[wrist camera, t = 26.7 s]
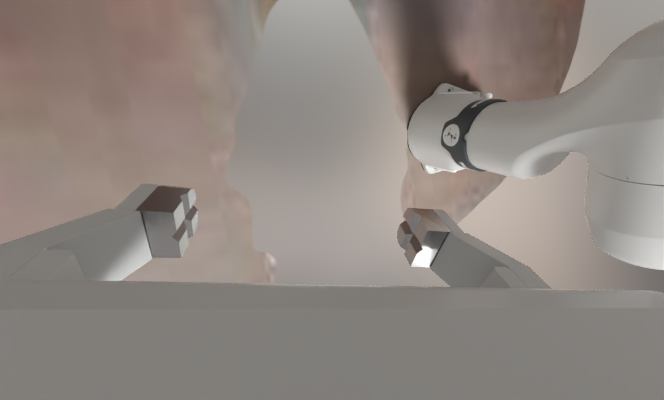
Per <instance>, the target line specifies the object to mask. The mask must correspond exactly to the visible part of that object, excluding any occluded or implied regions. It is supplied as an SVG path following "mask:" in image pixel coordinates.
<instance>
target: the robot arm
mask: <svg viewBox="0 0 664 400" xmlns="http://www.w3.org/2000/svg"><path fill="white" fill-rule="evenodd" d="M491 98H492V94H491V93H480V92H478V91H473V92H469V91H466V90H464V89H461V88H458V87H456V86H453V85H450V84H448V83H442V84H440V85H439V86H438V87H437V89H436V90H435V92H434V93H433V95H432V96H430V97H429V98H428V99H426V100H425V101H424V102H422V103H421V104H420V105H419V107H418V108H417V109H416V110H415V112H414V114H413V116H412V118H411V120H410V123H409V127H408V144H409V148H410V150H411V152H412V154H413V155H414V157H415V158H416V159H418V160H419V161H420V162H421V163H422V166H423V168H424V170H425V172H426V173H430V174H432V173H436V172H439V171H443V170H445V171H449V172H456V171H458V170H462V169H465V168H466V169H469V170H473V171H490V172H494V173H498V174H502V175H506V176H509V177H514V178H517V179H529V178H535V177H539V176H542V175H545V174H547V173H548V172H550V171H552V170H553V169H554V168H556V167H557V166H558V165H559V164H560V163H561V162H562V161H563V160H564V159H565V158H566V157H567V156H568V155H569V153H570V152H576V153H580V154H582V155H584V156H586V157H587V162H588V170H587V181H586V191H585V201H584V211H585V215H586V220H587V224H588V228H589V231H590V235H591V238H592V240H593V242H594V243H595V244H596V245H597V246H598V247H599V248H600V249H601V250H603V251H604V252H606V253H607V254H609V255H611V256H613V257H615V258H617V259H619V260H622V261H624V262H627V263H630V264H634V265H637V266H641V267H645V268H651V269H658V270H664V18H662V19H660V20H658V21H656V22H654V23H652V24H650V25H648V26H647V27H645V28H643V29H642V30H640V31H638V32H637V33H636V34H634V35H633V36H631V37H630V38H629V39H627V40H626V41H625V42H623V43H622V44H621V45H620V46H618V48H616V49H615V50H614V51H613V52H612V53H611V54H610V56H609V57H608V58H607V59H606V60H605V61H604V62H603V63H602V64H601V66H600V67H599V68H597V69H596V70H595V71H594V72H593V73H592V74H591V75H590V76H589V77H587V78H586V79H585V80H584V81H582V82H581V83H579V84H578V85H576V86H575V87H573V88H571V89H569V90H567V91H565V92H563V93H561V94H559V95H556V96H553V97H549V98H544V99H537V100H528V101H515V102H507V101H505V100H501V99H491ZM195 201H196V193H195V190H194V189H193V188H184V187H175V186H166V185H157V184H141V185H140V186H139V187H138V188H137V189H136V190H135V191H133V192H132V193H131V194H130V195H129V196H128V197H127V198H126V199H125V200H124V201H123V202H121V203H120V204H119V205H118V206H117V207H116V208H115V209H106V210H103V211H100V212H97V213H94V214H91V215H88V216H85V217H82V218H79V219H76V220H73V221H70V222H67V223H64V224H61V225H58V226H55V227H52V228H49V229H46V230H43V231H40V232H37V233H34V234H31V235H28V236H25V237H22V238H19V239H16V240H13V241H10V242H7V243H4V244H1V245H0V400H664V293H660V292H656V291H645V290H588V289H552V288H550V287H549V286H548V285H547V284H546V283H545V282H544V281H543V280H542V279H541V278H540V277H539V276H538V275H537V274H536V273H535V272H534V271H533V270H532V269H531V268H530V267H528V266H526V265H524V264H522V263H521V262H519V261H517V260H515V259H513V258H511V257H510V256H508V255H506V254H504V253H502V252H501V251H499V250H497V249H495V248H493V247H491V246H490V245H488V244H486V243H484V242H482V241H480V240H479V239H477V238H475V237H473V236H471V235H469V234H466V233H464V232H463V231H462V230H461V229H460V228H459V227H458V226H457V224H456V223H455V222H454V221H453V220H452V219H451V218H450V217H449V216H448V215H447V213H446V212H445V211H443V210H434V209H417V208H408V209H407V210H406V211H405V213H404V216H403V217H404V219H405V221H404V222H403V223H401V224H400V226H399V229H398V234H397V238H398V243H399V244H400V247H402V248H403V249H405V250H406V251H405V256H406V258H407V260H408V262H409V264H410V266H415V267H430V269H431V270H432V271H433V272H435V273H436V274H437V275H438V276H439V277H440V278H441V279H442V280H444V281H445V282H446V283H447V284H448V285H449V286H450V287H422V286H421V287H420V286H369V285H310V284H257V283H203V282H149V281H121V280H122V279H124V278H125V277H127V276H128V275H129V274H131V273H132V272H134V271H135V270H137V269H138V268H140V267H141V266H143V265H144V264H146V263H147V262H148V261H150V260H151V259H152V258H182V256H183V254H184V252H185V250H186V248H187V246H188V245H189V242H188V238H190V237H191V236H193V235H194V233H195V231H196V228H197V224H198V210H197V209H196V208H195V207H194V206H193V204H194V203H195Z"/></svg>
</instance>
